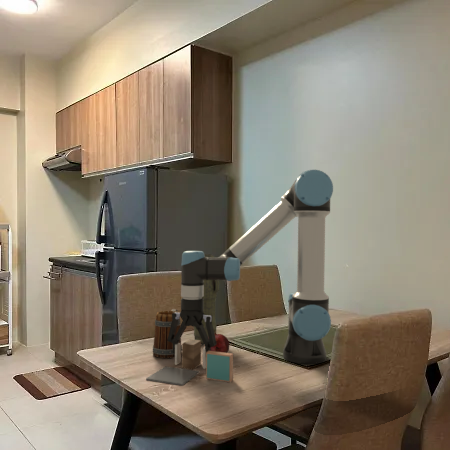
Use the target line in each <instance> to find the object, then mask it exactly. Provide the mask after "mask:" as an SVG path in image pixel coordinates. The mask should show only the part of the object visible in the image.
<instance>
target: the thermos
mask: <svg viewBox="0 0 450 450" xmlns="http://www.w3.org/2000/svg"><path fill="white" fill-rule="evenodd" d="M204 255H205V257H209V258H215V255H214V254H212V253H211V254H210V253H204ZM218 292H220V280H204V296H203V297H202V298H203V299H204V309H203V312H204V315H208V316H210V315H212V317H213V318H212V324H213V329H214V330H215V331H216V332H217V322H216V299H217V294H218ZM202 323H203V325H204V326H203V327H204V329H205V331H206V333H207V336H208V332H207V327H206V322H205V320H204V318H203V320H202ZM214 333H215V332H214ZM193 336H194V340H201V345H204V343H203V341H202V339H201V336H200V334H199V332H198V330H197V329H196V327H193Z"/></svg>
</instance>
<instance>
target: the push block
mask: <svg viewBox="0 0 450 450" xmlns="http://www.w3.org/2000/svg"><path fill="white" fill-rule="evenodd" d="M181 345H182V353H181V356H182V357H181V369H185V368H186V369H188V370H193V369H194V370H195V369H197V367H199V366H200V365H202V364H201V363H202V344H201V340H195V339H188V340H186V341H185V342H183V343H181Z"/></svg>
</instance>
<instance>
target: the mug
mask: <svg viewBox="0 0 450 450" xmlns="http://www.w3.org/2000/svg"><path fill="white" fill-rule="evenodd" d="M175 312H178V313H180V311H178V309H175V308H172V309H171V310H162V311H161V310H160V311H157V312H156V314H155V320H154V334H153V335H154V337H153V345H152V355H153V356H154V357H156V358H157V359H173V358H174V359H175V354H173V344H172V343H171V342H168V336H169V332H170V328H171V324H172V314H173V313H175ZM180 325H181V317H180V318H179V321H178V325H177V329H176V333H175V336H176V334H177V332H178V330H179V328H180ZM174 338H175V337H174ZM178 343H181V354H182V337H181V338H180V340H179V342H178Z"/></svg>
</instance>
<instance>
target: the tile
mask: <svg viewBox="0 0 450 450" xmlns="http://www.w3.org/2000/svg"><path fill="white" fill-rule="evenodd" d="M205 379H206V380H213V381H219V382H220V381H221V382H226V383H227V382H228V383H231V382H232V381H234V380H233V379H234V353H231V352H228V353H224V352H215V351H208V352H206V368H205Z"/></svg>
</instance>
